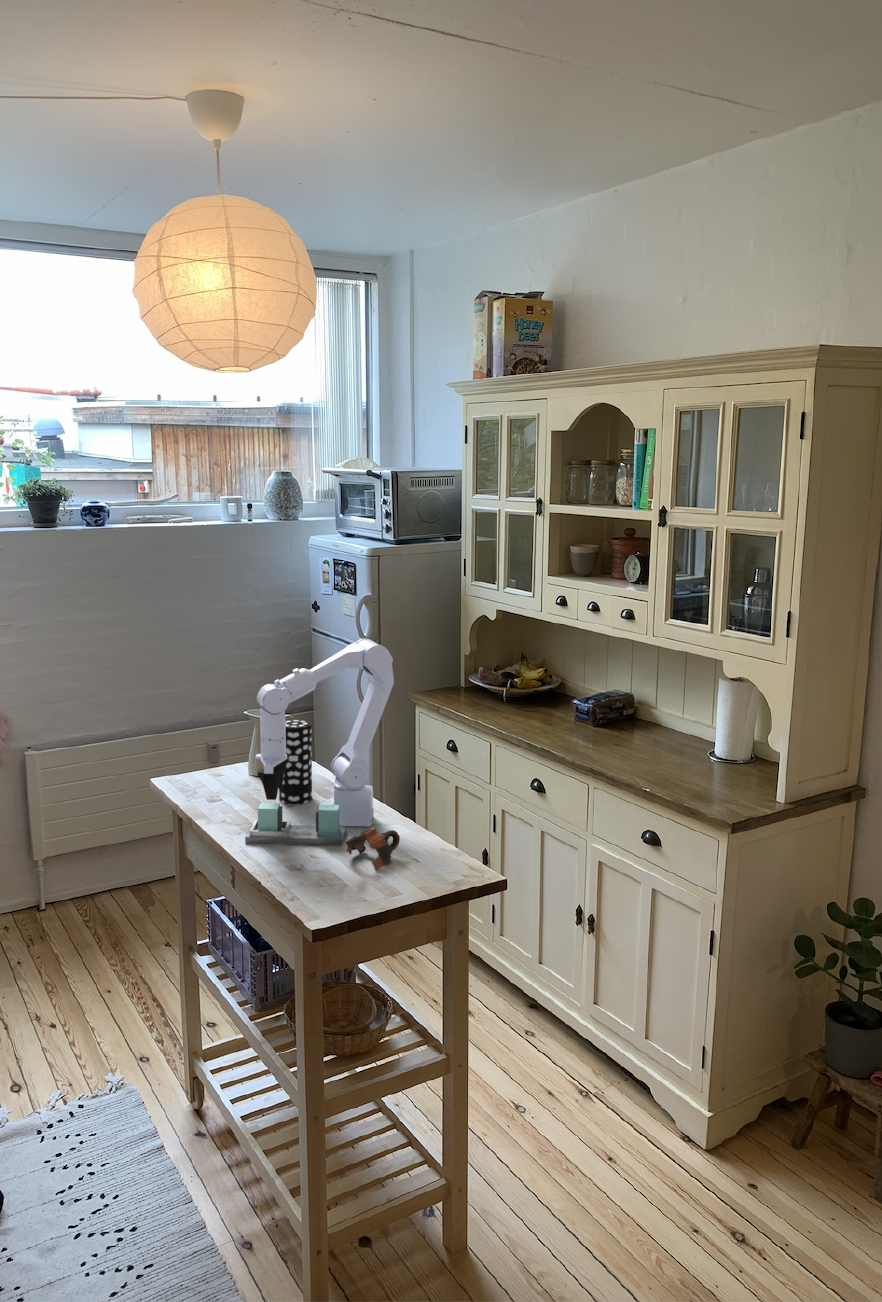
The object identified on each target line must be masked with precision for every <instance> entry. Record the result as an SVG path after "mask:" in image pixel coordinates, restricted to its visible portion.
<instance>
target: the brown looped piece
mask: <svg viewBox="0 0 882 1302" xmlns="http://www.w3.org/2000/svg"><path fill="white" fill-rule="evenodd" d="M398 833H399V832H397V831H396V830H392V829H391V830H387V831H385V832H379V831H377V828H376V827H372V828H368V829H367V830H365V831H363V832H361V833H360V835H358V836H357V835H355V836H353V837H351V838H349V839H348V840H346V841H345V845H346V846H347V848H346V852H347V853H348V855H352V852H353V851H355V850H357V852H358V853H359V854H360V855H361V854H363V853H364V852H366V850H367V847H366V846H365V843H366V842H368V846H369V847H370V848H371V849H374V850H376V852H377V855H378V856H377V857H376V858H374V859H372V860H371V864H372V865H373V868H374V870H375V871H377V870H380V869H381V868H384V867H385V866H386V865H387V866H388V865H389V864H391V863H392V854H393V851H395V850H396V849H397V847H398V846H399V845H400V841H401V840H400V835H399V834H398ZM390 837H391V838H392V841H391V844H389V838H390Z"/></svg>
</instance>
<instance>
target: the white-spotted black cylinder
mask: <svg viewBox="0 0 882 1302" xmlns="http://www.w3.org/2000/svg"><path fill="white" fill-rule="evenodd" d="M285 722H286V754H287V756H288V757H289V760H288V762H287V765H286V768H285V771H284V777H283V783H282V787H281V788H278V800H279V802H281V804H285V805H290V804H298V805H303V804H304V805H305V804H307V803H309V802H311V801H312V800H313V764H312V763H313V751H312V750H313V748H312V747H313V746H312V745H313V740H312V736H313V733H312V731H313V730H312V721H310V720H307V719H302V718H290V719H285Z"/></svg>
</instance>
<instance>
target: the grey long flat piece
mask: <svg viewBox="0 0 882 1302" xmlns="http://www.w3.org/2000/svg"><path fill="white" fill-rule="evenodd" d="M282 822H283V826H282V828H281V831H265V830H258V819H255V820H254V822H253V823H251V825H250V827H249V828H248V831H247V833H246V835H245V837H244V840H245V841H244V843H245V844H256V845H259V844H260V845H262V844H265V845H296V846H297V845H303V846H304V845H308V846H343V845H344V841H345V837H346V835H347V826H340V805H334V804H323V803H322V804H320V805H319V806H318V807H317V808H316V811H315V824H291V820H282Z"/></svg>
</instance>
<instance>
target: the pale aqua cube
mask: <svg viewBox="0 0 882 1302" xmlns="http://www.w3.org/2000/svg"><path fill="white" fill-rule="evenodd" d="M257 820H258V830H265V831H281V828H282V826H283V822H282V821H283V806H282V805H281V803H275V802H270V803H269V802H260V804H259V805H258V807H257Z"/></svg>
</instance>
